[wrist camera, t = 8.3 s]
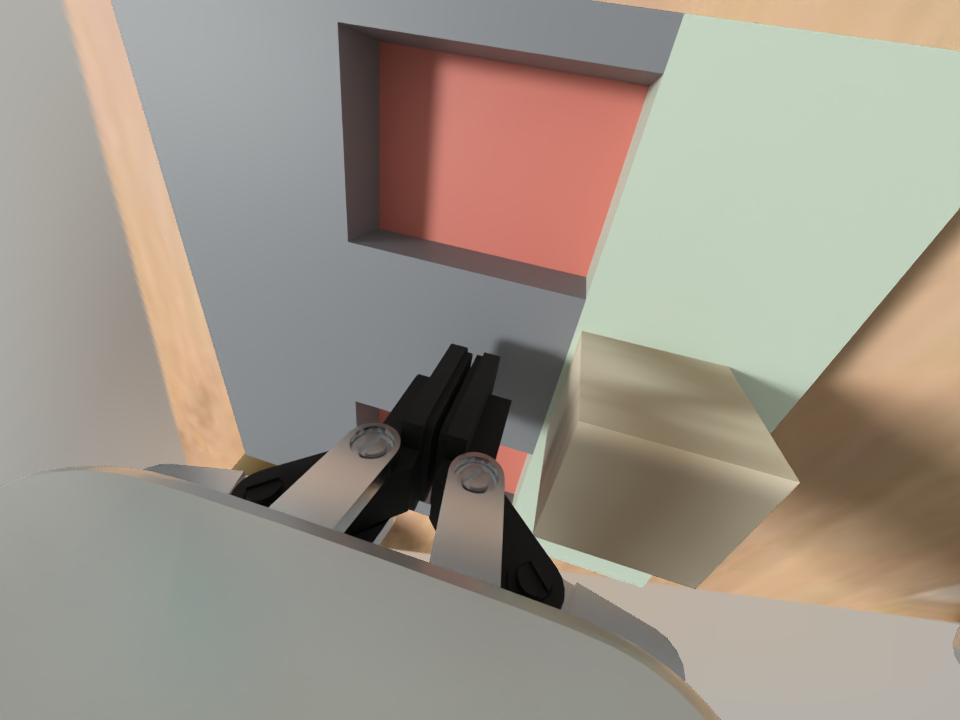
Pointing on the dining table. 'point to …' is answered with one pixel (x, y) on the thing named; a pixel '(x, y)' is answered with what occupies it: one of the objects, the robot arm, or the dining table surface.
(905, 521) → the dining table surface
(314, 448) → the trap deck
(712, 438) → the beech block
